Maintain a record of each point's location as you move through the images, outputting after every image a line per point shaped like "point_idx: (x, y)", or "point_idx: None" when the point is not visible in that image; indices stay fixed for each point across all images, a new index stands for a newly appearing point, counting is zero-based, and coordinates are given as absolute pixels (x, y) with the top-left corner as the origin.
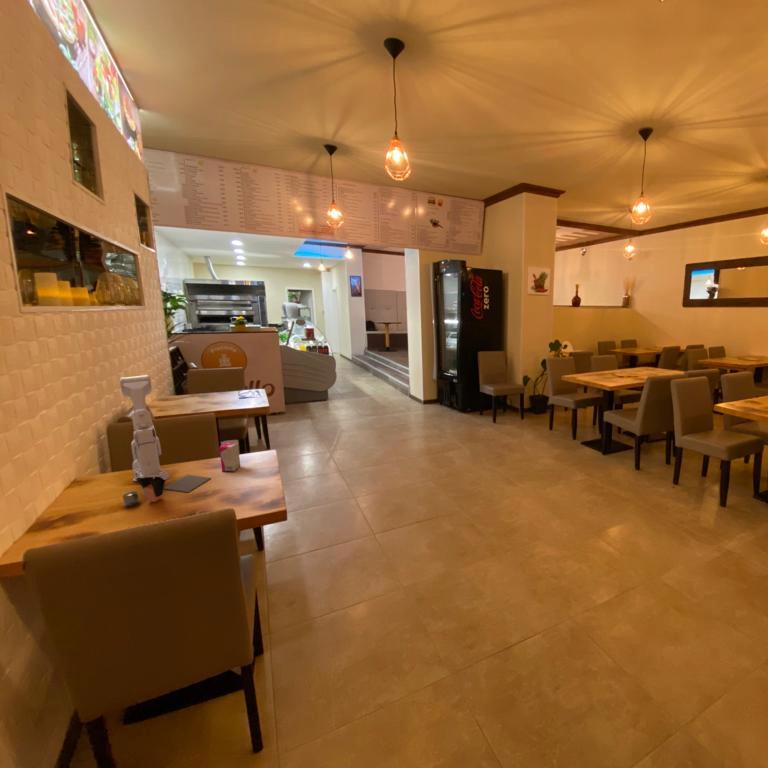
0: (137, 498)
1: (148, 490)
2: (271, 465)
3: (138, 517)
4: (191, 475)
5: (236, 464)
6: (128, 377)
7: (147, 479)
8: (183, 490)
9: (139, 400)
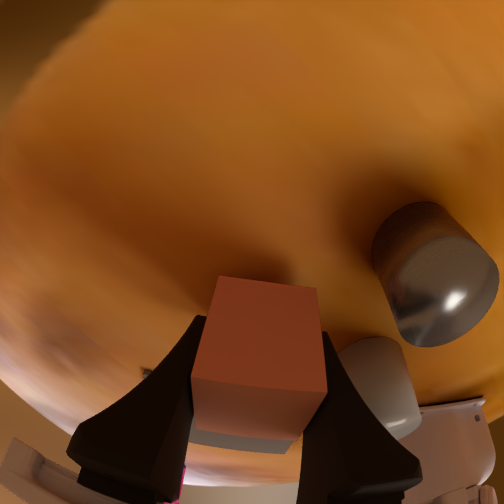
0: (385, 287)
1: (263, 365)
2: None
3: (192, 64)
4: (261, 451)
5: None
6: None
7: (317, 477)
8: None
9: None
